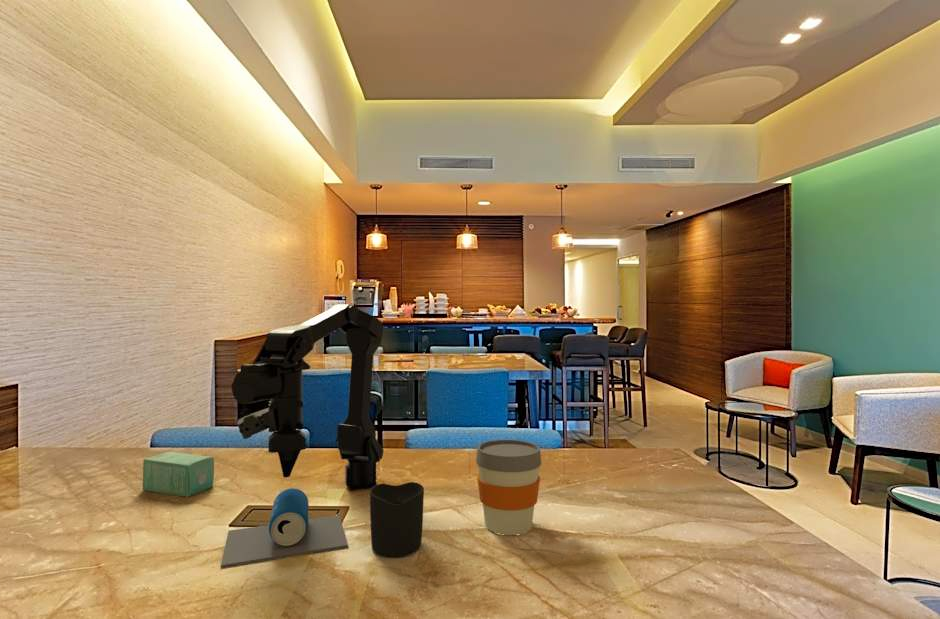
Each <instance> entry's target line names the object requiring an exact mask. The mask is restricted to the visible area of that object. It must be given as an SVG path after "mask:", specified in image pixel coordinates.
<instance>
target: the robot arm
mask: <svg viewBox="0 0 940 619" xmlns="http://www.w3.org/2000/svg"><path fill="white" fill-rule="evenodd" d="M337 330H339V331H340V332H342V333H344V334H345V342H346V343H345V344H346V346H347V348H348V349H349V351H350V354H351V361H350V377H349V392H348V407H347V408H348V409H347V417H346V418H345V419H344V421H343V423H339V424H338V426H337V437H336V440H335V443H337V449H338V451H339V455H340V458H341V460H347V464H346V465H344V483H345V485H346V487H347V488H348V490H349V491H350V492H351V491H353V492H354V491H359V490H368V489H369V490H370V489H371V488H372V487H373V486H375V485H378V483H377V463H379V462H380V461H381V460H382V459H383V458H384V456H383V455H384V450H385V449H384V448H383V446H382V445H381V444H380V443H379V441H378V440H377V439H376V438H377V436H376V433H377V432H376V427H375V425H374V422H373V421H372V419H371V417H370V411H371V399H372V397H371V396H372V381H373V365H374V364H373V363H374V355H375V353H376V352H377V350H378V348H379V347H380V346H381V344H382V338H383V332H384V326H383V323H382V322H381V321H380V319H379V318H378V317H375V316H374V315H372V314H369V313H368V312H365V311H364V310H360V309H359V308H358V307H357V306H355V305H353V304H335V305H333V306H332V307H331V308H330V309H328V310H326V311H324V312H321V313H320V314H317V315H316V316H315V317H312V318H309V319H308V320H307V321H305V322H302V323H301V324H296V325H291V326H284V327H280V328H275V329H271V330H270V331H269V332H267V334H266V339H264V340H265V341H264V343H263V344H262V345H261V347H260V350H259V351H258V352H257V354H256V357H255V358H254V360H253V362H252V364H251V363H250V364H249V363H247V364H246V363H245V364H241V365H240V371H239V372H238V373H236V375H235V376H234V378H233V382H232V383H231V392H232V395H233V398H234V399H235V400H236V402H237V403H238V404H240V405H248V404H253V403H257V402H263V401H267V400H270V401H268V407H267V408H264V409H261V410H258V411H256V412H253V413H250V414H248V415H245V416H244V417H241V418H239V419H238V420H237V423H236V425H237V427H238V430H239V431H238V432H239V433H240V434H241V436H242V439H243V440H246V439H249V438H252V436H254V435H256V434H258V433H261V432H264V431H265V430H267V429H268V433H271V434H270V435H269V437H268V453H269V454H270V453H271V454H273V453H274V454H275V453H277V455H278V458H279V463H280V467H281V471H282V476H283V478H289V477H290V476H291V474H292V472H293V469H294V467H295V464H296V462H297V459H298V457H299V456H300V453H301V451H303V450H306V449H307V438H306V434H305V433H304V432H303V431H302V430H303V429H304V422H303V407H304V401H303V371H306V370H310V368H311V365H309V363H308V362H306V360H304V358H305V357H307V355H308V354H309V353H311V352H312V351H313V349H314V346H315V344H316V343H317V342H318V341H320V340H322V339H323V338H326V337H327V336H329V335H330V334H332V333H334V332H336V331H337Z"/></svg>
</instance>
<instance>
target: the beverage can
mask: <svg viewBox="0 0 940 619" xmlns="http://www.w3.org/2000/svg"><path fill="white" fill-rule="evenodd" d="M308 519H309V498H308V496H307V494H306V493H305V492H304V491H302V490H301V489H298V488H294V487H293V488H287V489H284V490H282V491H281V492H279V494H277V495H276V497H275V498H274V501H273V504H272V509H271V514H270V519H269V524H268V525H269V533H270V536H271V538H272V539H273V540H274V541H275V542H276V543H278V544H280V545H283V546H289V545H293V544H295V543H297V542H298V541H299V540H301V539H302V538H303V536H304V535H305V534H306V532H307V529H308ZM289 522H290V523H289Z"/></svg>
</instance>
